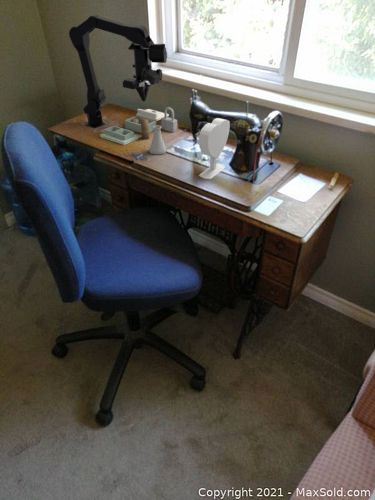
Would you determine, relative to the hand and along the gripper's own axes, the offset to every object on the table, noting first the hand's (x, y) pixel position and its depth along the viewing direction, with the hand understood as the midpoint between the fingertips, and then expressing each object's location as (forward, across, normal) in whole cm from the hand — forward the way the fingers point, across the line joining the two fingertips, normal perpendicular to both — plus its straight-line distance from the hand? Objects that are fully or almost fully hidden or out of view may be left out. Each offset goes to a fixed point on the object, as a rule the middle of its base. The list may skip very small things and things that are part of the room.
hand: (143, 101), depth 162 cm
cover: (+8, +7, +1) cm, 11 cm away
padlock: (+12, +5, -10) cm, 17 cm away
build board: (+12, -15, +2) cm, 19 cm away
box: (+12, -2, +1) cm, 12 cm away
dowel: (+12, -9, -8) cm, 17 cm away
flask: (+12, -16, -20) cm, 29 cm away
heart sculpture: (+12, -17, -48) cm, 52 cm away
